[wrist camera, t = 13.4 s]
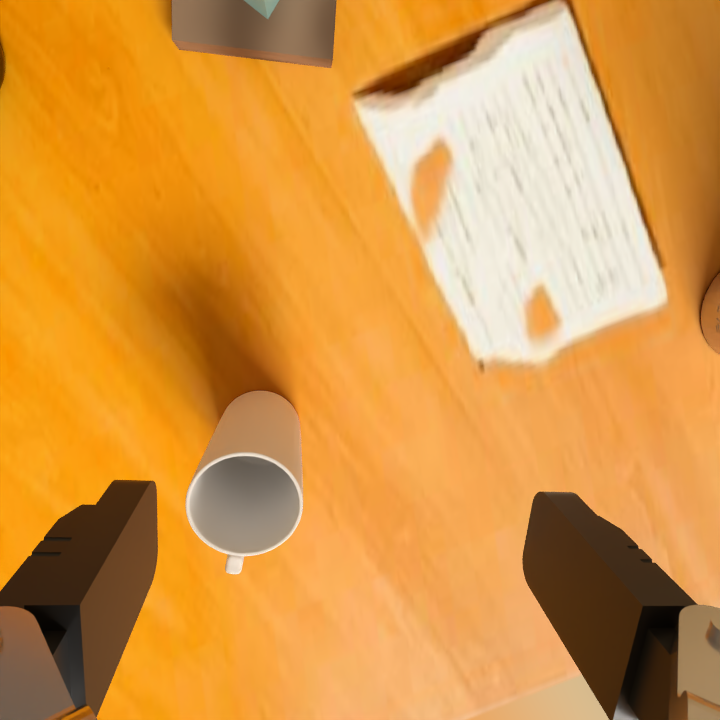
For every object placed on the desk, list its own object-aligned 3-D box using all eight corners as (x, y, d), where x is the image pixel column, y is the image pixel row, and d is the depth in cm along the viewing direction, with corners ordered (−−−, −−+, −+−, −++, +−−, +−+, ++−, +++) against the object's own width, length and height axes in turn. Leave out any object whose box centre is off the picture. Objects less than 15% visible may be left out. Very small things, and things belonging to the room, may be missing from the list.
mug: (225, 378, 41) (195, 443, 29) (310, 394, 42) (313, 462, 30) (205, 493, 43) (170, 594, 32) (286, 506, 44) (280, 608, 33)
